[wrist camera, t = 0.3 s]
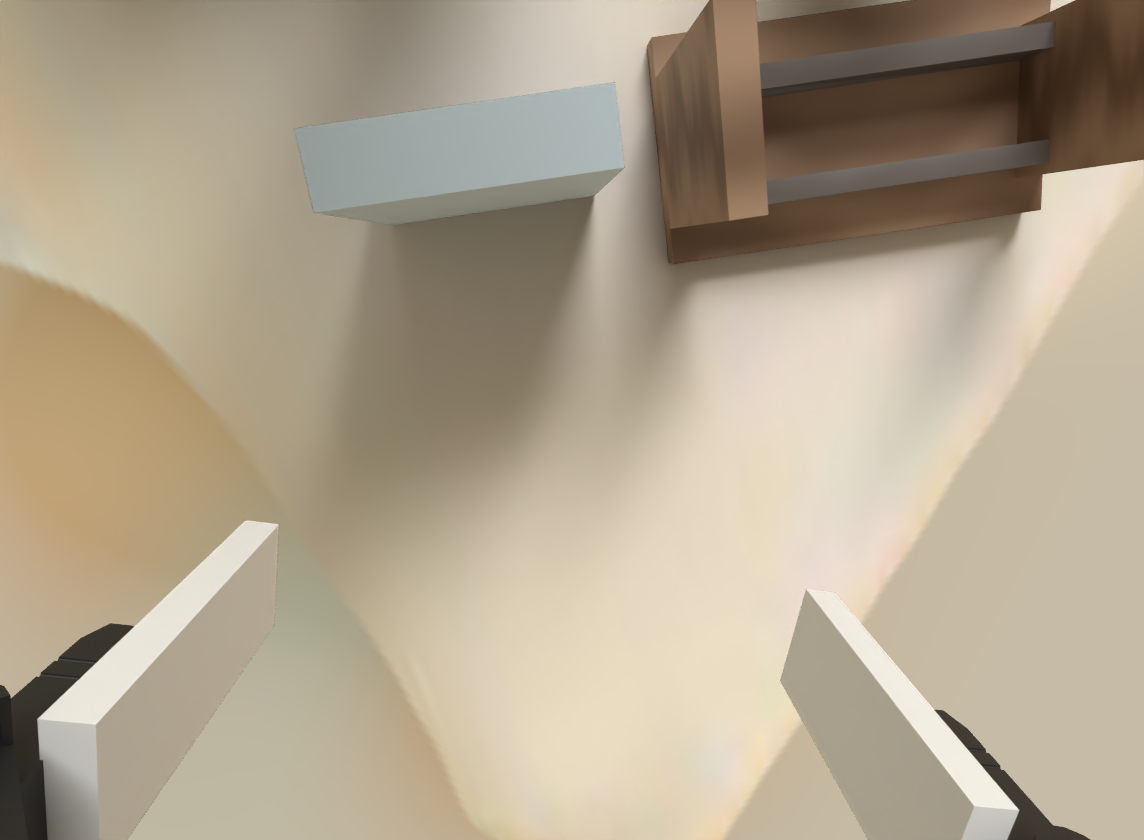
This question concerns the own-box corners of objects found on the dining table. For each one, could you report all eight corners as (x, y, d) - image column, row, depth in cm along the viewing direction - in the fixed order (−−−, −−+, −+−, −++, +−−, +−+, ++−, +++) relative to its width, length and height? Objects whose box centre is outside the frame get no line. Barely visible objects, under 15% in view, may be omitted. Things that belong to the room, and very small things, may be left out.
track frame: (647, 45, 36) (707, -67, 23) (1031, -10, 37) (1302, -151, 24) (668, 263, 40) (733, 271, 27) (1022, 211, 40) (1257, 193, 27)
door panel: (382, 171, 37) (293, 128, 24) (587, 141, 38) (614, 82, 24) (393, 225, 38) (313, 212, 25) (594, 195, 38) (624, 167, 25)
